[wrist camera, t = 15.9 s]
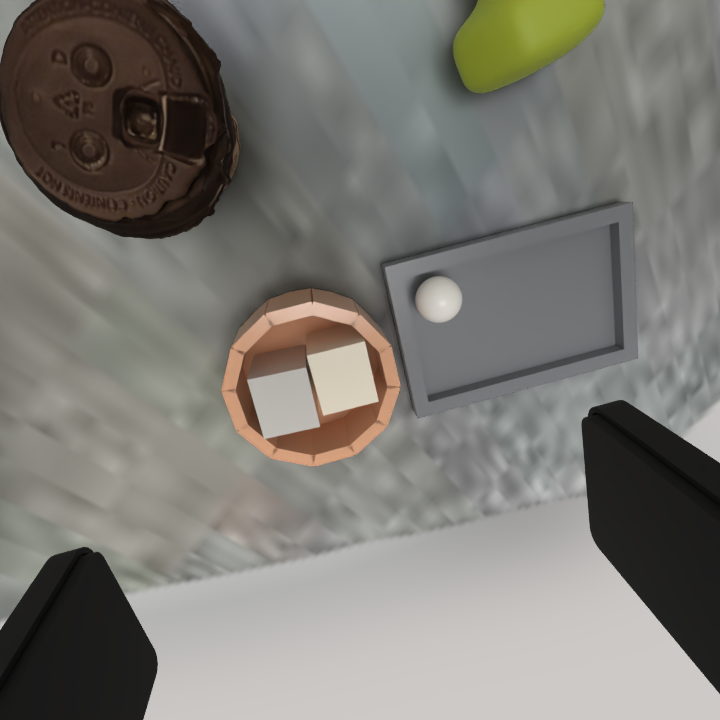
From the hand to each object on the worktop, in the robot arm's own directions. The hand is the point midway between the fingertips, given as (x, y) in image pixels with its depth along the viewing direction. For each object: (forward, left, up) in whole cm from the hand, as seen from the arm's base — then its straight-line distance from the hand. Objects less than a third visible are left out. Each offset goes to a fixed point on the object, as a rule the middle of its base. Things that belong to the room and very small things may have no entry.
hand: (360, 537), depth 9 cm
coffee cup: (+5, -10, -24) cm, 27 cm away
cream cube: (0, +5, -24) cm, 24 cm away
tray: (-13, +5, -24) cm, 28 cm away
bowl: (+2, +5, -24) cm, 25 cm away
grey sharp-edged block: (+4, +5, -24) cm, 25 cm away
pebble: (-7, +2, -24) cm, 25 cm away
